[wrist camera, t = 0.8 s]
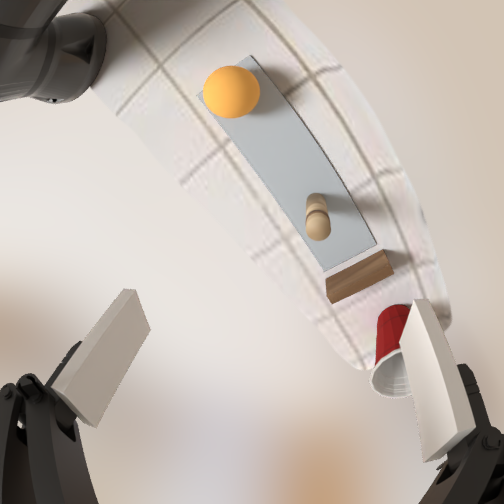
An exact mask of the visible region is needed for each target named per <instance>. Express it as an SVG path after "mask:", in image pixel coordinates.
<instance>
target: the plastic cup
mask: <svg viewBox="0 0 504 504" xmlns="http://www.w3.org/2000/svg"><path fill="white" fill-rule="evenodd" d="M409 313H410V309H409V308H407V307H406V306H404V305H393V306H390V307H388V308H386V309H385V310H384V311H382V313H381V314H380V316H379V317H378V323H377V338H376V362H375V367H374V368H373V369H372V373H371V377H370V380H369V382H370V385H371V387H372V390H373V391H375V392H376V393H377V394H379V395H380V396H383V397H388V398H392V399H393V398H406V397H410V396H412V392H411V388H410V383H409V379H408V375H407V371H406V366H405V362H404V359H403V355H402V351H401V347H400V344H399V341H400V339H401V336H402V333H403V330H404V328H405V325H406V322H407V319H408V316H409Z"/></svg>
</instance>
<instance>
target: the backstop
mask: <svg viewBox="0 0 504 504" xmlns="http://www.w3.org/2000/svg"><path fill="white" fill-rule="evenodd" d="M392 274H394V272H393V270H392V267H391V265H390V263H389V261H388V259H387V257H386V254H385V252H384V250H383V249H382V250H381V251H379V252H377V253H375V254H373V255H371V256H369V257H367V258H366V259H364V260H362V261H360V262H358V263H356V264H354V265H352V266H350V267H348V268H346V269H344V270H342V271H340V272H338V273H336V274H335V275H333V276H331V277H329V278H327V279H326V293H327V297H328V299H329V300H330V302H331V303H332V304H334V303H336V302H338V301H340V300H342V299H344V298H346V297H348V296H351V295H353V294H355V293H357V292H359V291H361V290H363V289H365V288H367V287H369V286H371V285H373V284H375V283H377V282H379V281H381V280H383V279H385V278H387V277H389V276H390V275H392Z"/></svg>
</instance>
